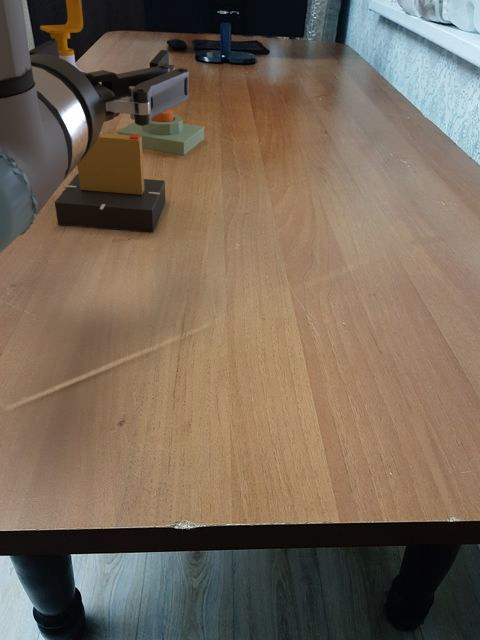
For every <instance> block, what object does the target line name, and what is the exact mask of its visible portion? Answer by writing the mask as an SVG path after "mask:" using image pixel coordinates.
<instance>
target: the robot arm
mask: <svg viewBox="0 0 480 640" xmlns="http://www.w3.org/2000/svg"><path fill="white" fill-rule="evenodd" d="M26 25H27V24H26V19H25V10H24V2H23V0H0V254H1V253H3V252H4V251H5V250H6V249H7V248H8V247H9V246H10V245H11V244H12V243H13V242H14V241H15V240H16V239H18V238H19V237H20V236H22V235H24V234H25V233H27V231H28V230H30V229H31V227H32V225H33V224H34V223H35V220H36V217H37V215H38V214H39V213H40V212H41V210H42V209H43V208H44V207H45V206H46V204H47V203H48V202H49V200H50V199H51V198H52V197H53V195H54V194H55V193H56V191H57V190H58V189H59V188H60V186H61V185H62V184H63V182H64V181H65V180H66V179H67V178H68V177H69V176H70V174H71V173H72V172H73V170H74V169H75V168H76V167H77V164H78V163H79V162H80V161H81V160H82V159H83V157H84V156H85V155H86V154H87V153H88V151H89V150H90V149H91V148H92V146H93V145H94V144H95V142H96V141H97V139H98V137H99V135H100V132H101V133H102V129H103V126H104V123H106V122H110V121H113V120H114V119H115V118H117V117H119V116H120V114H125V115H129V117H130V119H131V120H134V122H135V124H137V125H141V126H144V125H148V124H150V122H151V120H152V118H153V117H155V116H157V115H159V114H161V113H163V112H165V111H167V110H169V109H173V108H175V107H177V106H179V105H180V104H182V103H184V102H187V101H188V100H189V70H188V69H187V68H184V67H179V68H176V66H175V65H174V64H170V52H169V49H167V50H166V49H161V50H160V51H158V53H157V54H156V55H155V56H154V57H153V58H152V60H151V61H150V62H149V67H145V68H141V69H137V70H131V71H126V72H121V73H116V72H112V71H109V70H104V69H101V70H96V71H91V72H85V71H83V70H82V71H83V72H82V71H80V70H81V69H80V68H79V69H80V70H79V69H77V68H78V67H77V68H76V67H75V66H74V65H72V64H71V63H69V62H67V61H65V60H63V59H61V58H59V52H58V44H57V41H55V40H52V39H51V40H50V39H49V40H47V41H45V42H43V43H41V44H40V45H38V46H36V47H34V48H32V49H30V47H29V40H28V33H27V26H26ZM175 68H176V69H175Z"/></svg>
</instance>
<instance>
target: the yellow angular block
mask: <svg viewBox="0 0 480 640" xmlns="http://www.w3.org/2000/svg"><path fill="white" fill-rule="evenodd" d="M76 167H77V174H78V175H79V183H80V190H88V191H100V192H113V193H125V194H137V195H142V194H143V192H144V179H145V173H144V155H143V148H142V137H141V136H140V135H139V134H131V136H130V135H118V133H117V134H116V133H105V132H101V133H100V135H99V137H98V139H97V141H96V142H95V144H94V145H93V146H92V148H91V149H90V150H89V151H88V153H87V154H86V155H85V156H84V157H83V159H82V160H81V161H80V162H79V163H78V164H77V165H76Z"/></svg>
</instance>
